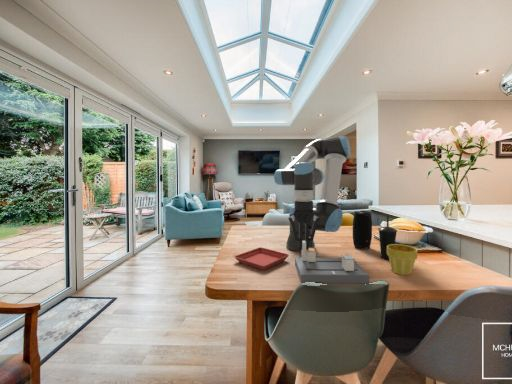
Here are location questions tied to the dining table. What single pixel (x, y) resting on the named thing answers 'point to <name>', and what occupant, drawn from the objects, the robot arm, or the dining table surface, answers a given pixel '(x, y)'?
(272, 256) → the plant saucer
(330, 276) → the fader board
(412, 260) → the plant pot
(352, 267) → the fader front
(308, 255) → the block
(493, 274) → the dining table surface
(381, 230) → the black bottle
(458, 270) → the dining table surface
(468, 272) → the dining table surface
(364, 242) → the portable speaker
